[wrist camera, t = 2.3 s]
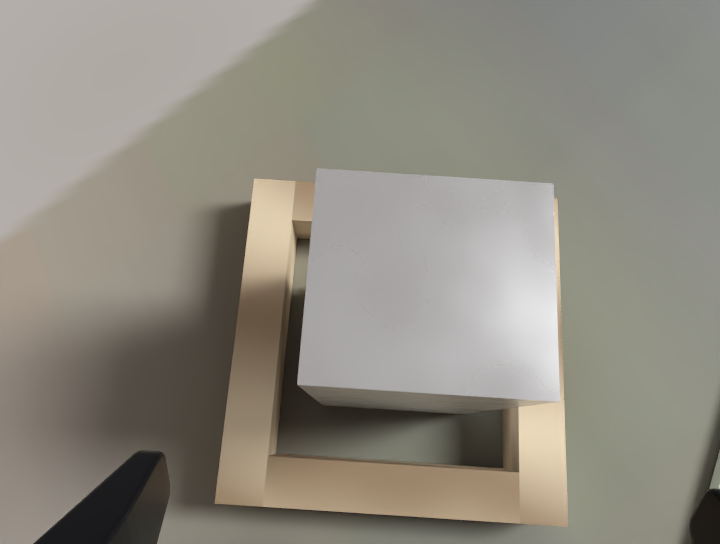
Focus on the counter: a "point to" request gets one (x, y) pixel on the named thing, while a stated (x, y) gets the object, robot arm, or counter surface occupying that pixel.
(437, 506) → the oak socket frame
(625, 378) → the counter surface
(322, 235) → the steel cap block
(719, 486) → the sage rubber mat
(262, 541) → the counter surface
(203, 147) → the counter surface
